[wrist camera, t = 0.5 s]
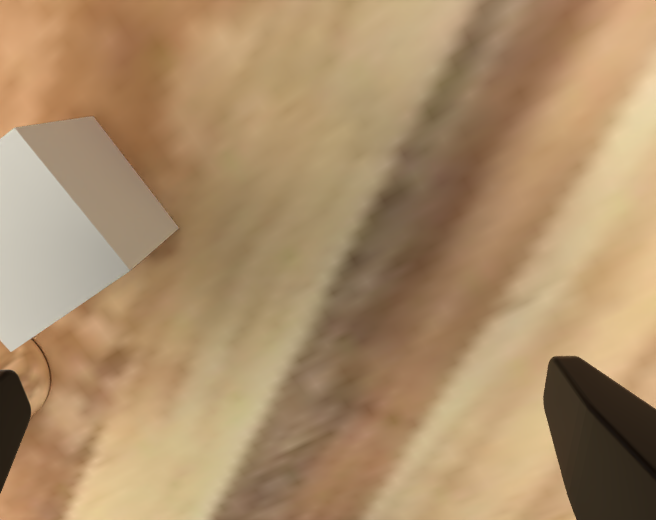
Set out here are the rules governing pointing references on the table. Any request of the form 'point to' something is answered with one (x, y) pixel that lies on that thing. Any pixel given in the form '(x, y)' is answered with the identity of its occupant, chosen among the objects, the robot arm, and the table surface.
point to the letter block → (67, 222)
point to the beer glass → (28, 371)
